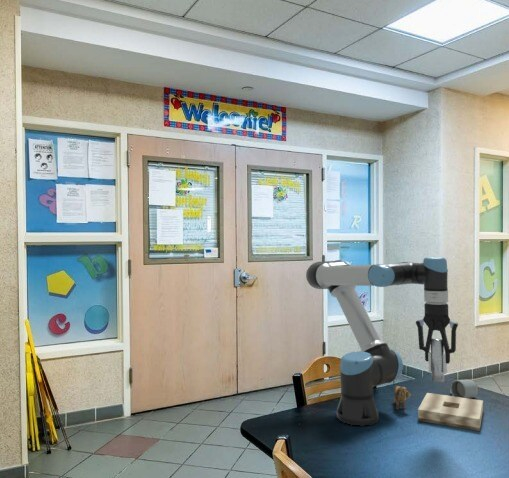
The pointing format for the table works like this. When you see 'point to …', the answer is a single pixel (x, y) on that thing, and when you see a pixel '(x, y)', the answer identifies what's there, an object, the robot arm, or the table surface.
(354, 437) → the table surface
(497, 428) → the table surface
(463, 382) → the ceramic mug
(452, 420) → the maple block
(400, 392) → the lion figurine
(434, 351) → the metal peg
